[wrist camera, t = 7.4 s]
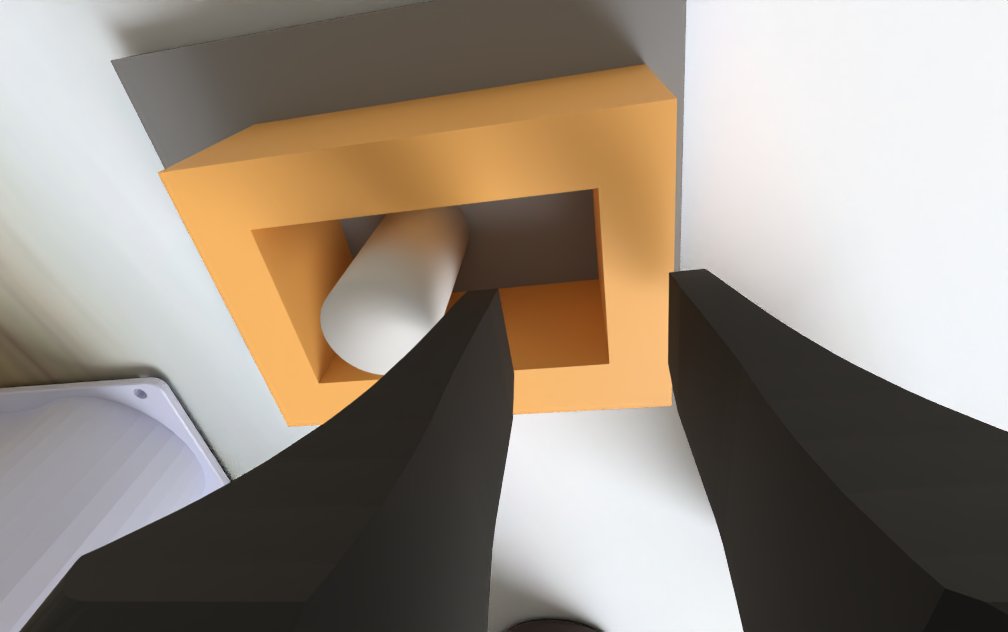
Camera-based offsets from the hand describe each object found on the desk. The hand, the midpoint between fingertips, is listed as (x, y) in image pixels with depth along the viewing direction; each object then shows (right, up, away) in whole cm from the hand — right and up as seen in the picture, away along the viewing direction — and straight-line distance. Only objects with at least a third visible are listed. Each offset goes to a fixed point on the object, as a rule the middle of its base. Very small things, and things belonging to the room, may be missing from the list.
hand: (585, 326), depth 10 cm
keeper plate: (-4, +3, +6) cm, 8 cm away
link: (-3, +3, +5) cm, 6 cm away
